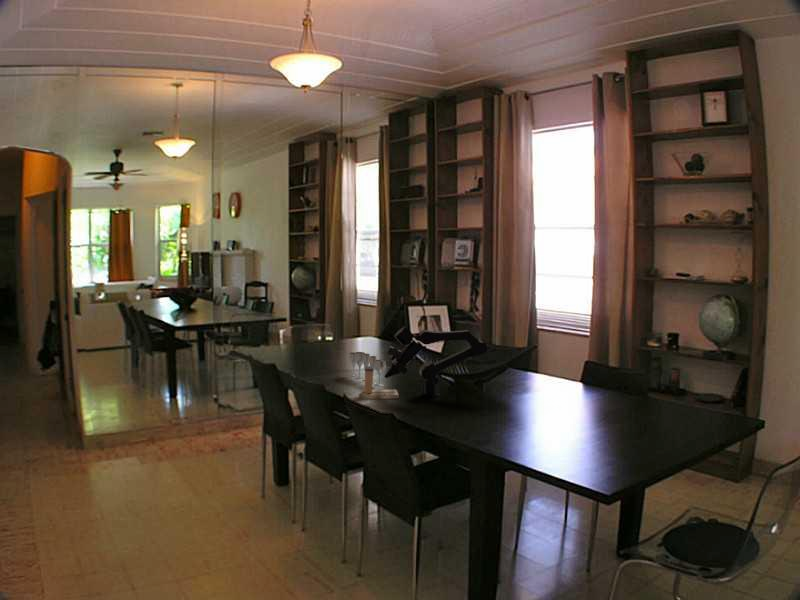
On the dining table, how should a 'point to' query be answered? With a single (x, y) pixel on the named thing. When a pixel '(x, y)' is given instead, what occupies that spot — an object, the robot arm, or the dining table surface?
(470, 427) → the dining table surface
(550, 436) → the dining table surface
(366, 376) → the fader tab
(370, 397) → the fader console
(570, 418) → the dining table surface
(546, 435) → the dining table surface
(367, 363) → the goblet set
